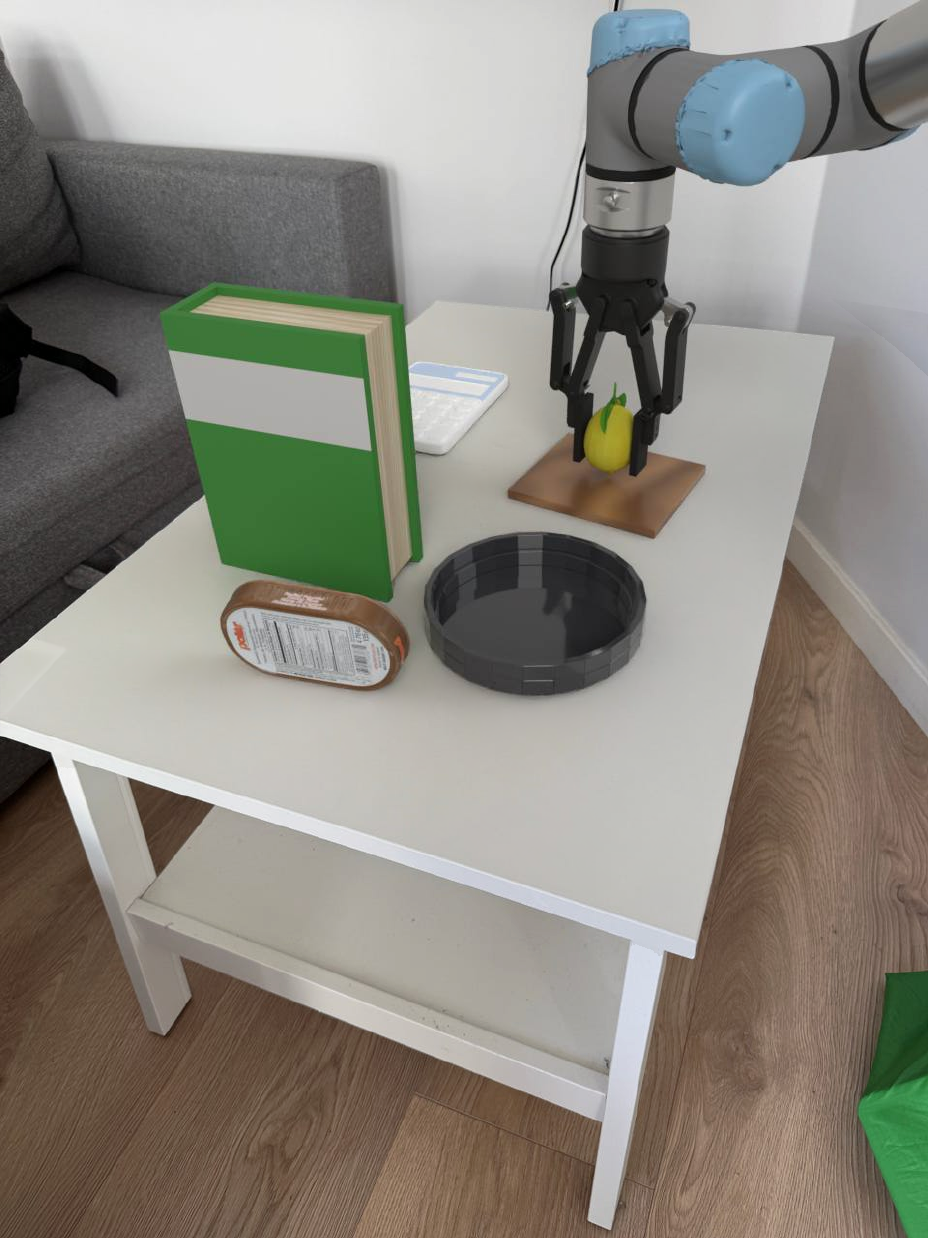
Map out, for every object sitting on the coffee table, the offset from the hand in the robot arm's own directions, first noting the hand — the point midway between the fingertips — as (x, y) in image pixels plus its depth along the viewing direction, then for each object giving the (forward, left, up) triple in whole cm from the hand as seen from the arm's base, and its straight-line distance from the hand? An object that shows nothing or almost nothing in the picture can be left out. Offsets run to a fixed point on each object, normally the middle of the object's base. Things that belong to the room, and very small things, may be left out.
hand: (609, 462), depth 93 cm
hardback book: (+18, +25, -3) cm, 31 cm away
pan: (-4, +24, -3) cm, 24 cm away
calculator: (+26, -6, -3) cm, 27 cm away
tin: (+8, +38, -3) cm, 39 cm away
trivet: (0, 0, -3) cm, 3 cm away
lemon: (0, 0, -2) cm, 2 cm away
